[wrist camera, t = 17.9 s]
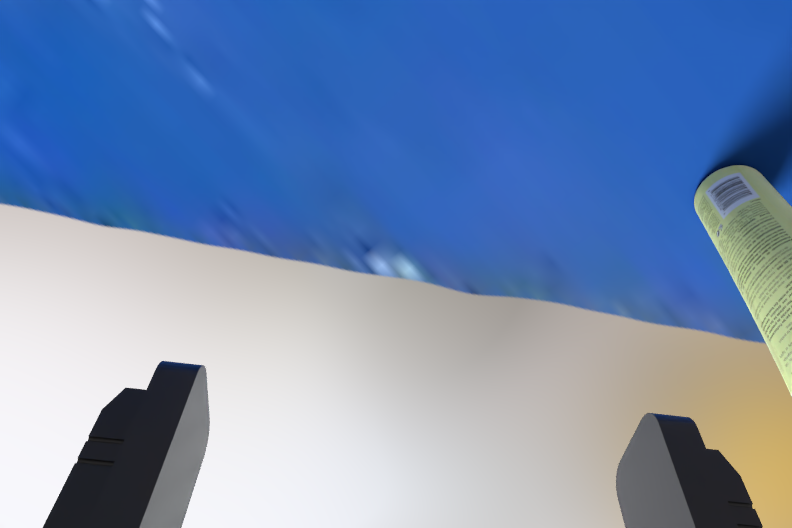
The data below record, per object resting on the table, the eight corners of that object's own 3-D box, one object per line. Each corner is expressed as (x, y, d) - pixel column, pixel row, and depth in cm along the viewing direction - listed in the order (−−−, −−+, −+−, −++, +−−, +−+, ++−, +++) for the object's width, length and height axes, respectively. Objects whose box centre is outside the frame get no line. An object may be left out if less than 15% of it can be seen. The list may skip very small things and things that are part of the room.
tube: (768, 221, 49) (922, 419, 33) (695, 238, 51) (811, 438, 34) (763, 153, 47) (930, 334, 30) (687, 173, 48) (808, 358, 32)
